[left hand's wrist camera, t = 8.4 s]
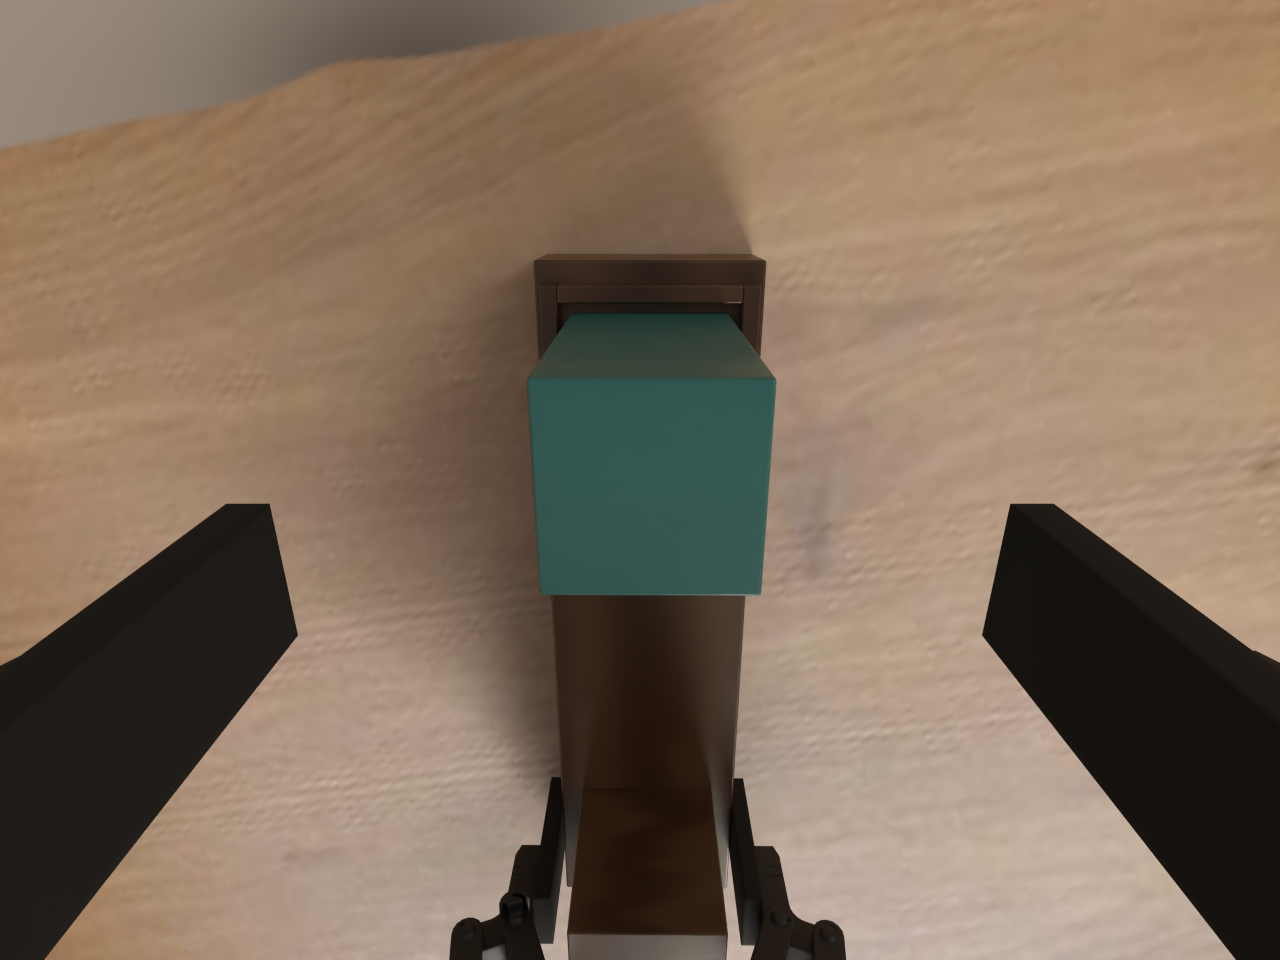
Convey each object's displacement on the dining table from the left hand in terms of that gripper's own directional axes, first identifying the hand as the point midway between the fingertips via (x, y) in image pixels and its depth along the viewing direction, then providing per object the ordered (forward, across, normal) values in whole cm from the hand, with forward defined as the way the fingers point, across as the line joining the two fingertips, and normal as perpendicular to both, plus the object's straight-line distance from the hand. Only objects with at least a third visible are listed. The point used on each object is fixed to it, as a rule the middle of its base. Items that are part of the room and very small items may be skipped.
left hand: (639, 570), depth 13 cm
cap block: (+14, 0, 0) cm, 14 cm away
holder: (+17, 0, +11) cm, 20 cm away
